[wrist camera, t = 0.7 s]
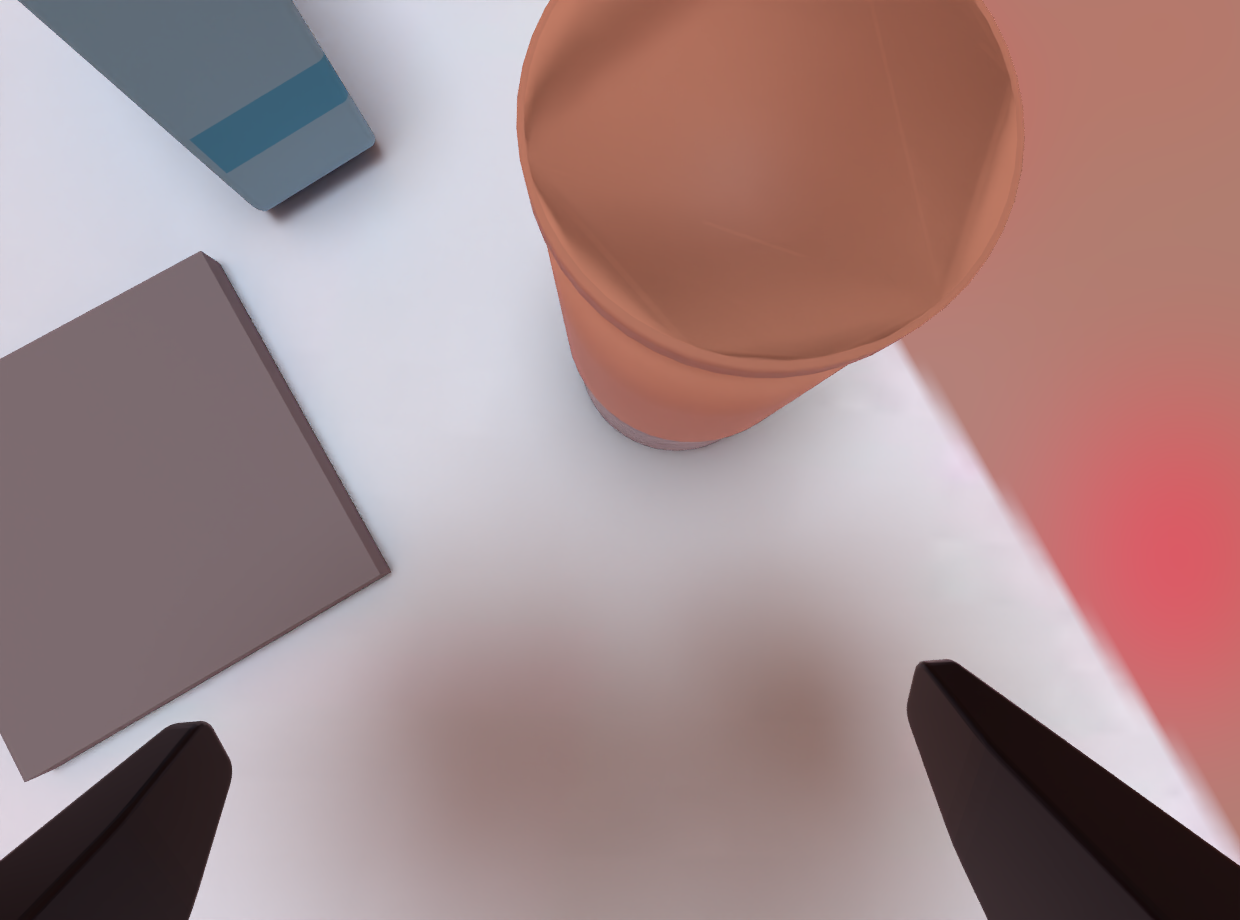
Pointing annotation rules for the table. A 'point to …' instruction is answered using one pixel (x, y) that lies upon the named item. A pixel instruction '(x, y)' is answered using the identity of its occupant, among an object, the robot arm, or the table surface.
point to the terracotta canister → (759, 189)
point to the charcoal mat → (155, 512)
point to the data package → (223, 84)
